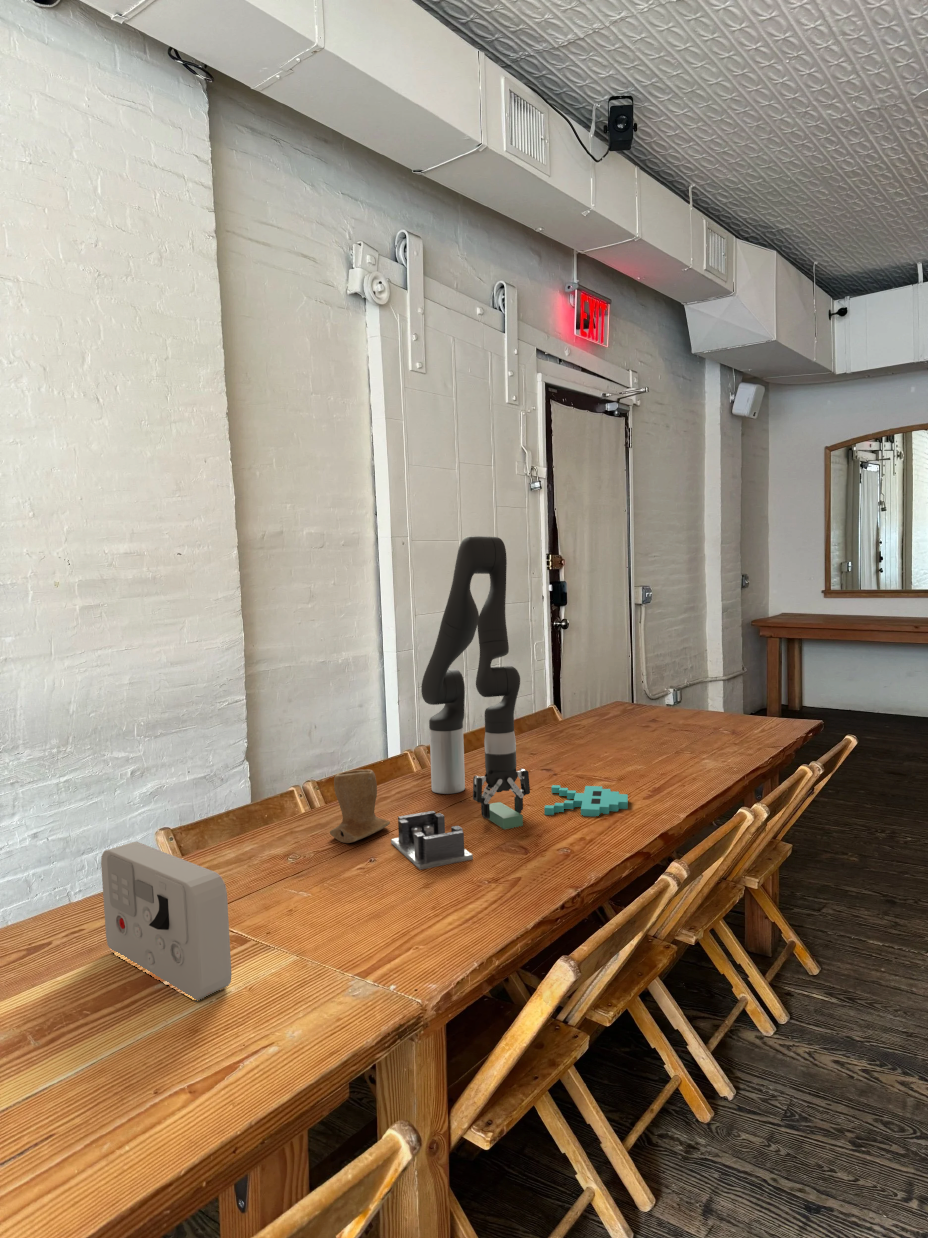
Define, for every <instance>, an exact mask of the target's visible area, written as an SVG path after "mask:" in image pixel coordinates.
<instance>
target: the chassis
mask: <svg viewBox="0 0 928 1238" xmlns="http://www.w3.org/2000/svg"><path fill="white" fill-rule="evenodd" d="M445 819H446V818H445V815H444V814H443V813H441V812H439V813H436V811H434V810H431V811H429V810H428V811H424V812H419V813H418V812H417V813H412V814H411V813H410V814H406V815H399V816H397V825H398V826H397V827H398V837H393V838H391V839H390V841H391V842H390V843H391V845H392V846H394V847H395V849H397V850H398V851H399V852H400V853H401V854H402V855H404V857H405V858H407V859H408V860H409V861H410V862H411V863H412V864H413V865H414V866H416V868H417V869H419V870H426V869H431V868H435V867H443V866H445V865H446V866H447V865H451V864H457V863H461V862H467V861H472V860H473V858H474V857H473V856H474V855H473V853H471V852H469V851H468V850H467V849H466V848H465V833H464V831H463V828H462V827H461V826H459V825H453V826H451V829H450V830H451V832H446V822H445V821H446V820H445Z"/></svg>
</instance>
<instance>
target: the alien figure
mask: <svg viewBox="0 0 928 1238" xmlns="http://www.w3.org/2000/svg"><path fill="white" fill-rule="evenodd" d="M552 793H559V794H558V797H559V796H567V797H566V800H565V799H564V802H555V803H554V804H553V805H552V804H551V805H546V804H545V805H544V810H543V811H544V815H545V816H555V813H559V812H563V813H564V812H565V810H564V809H573V810H574V809H575V807H581V808H580V816H581V815H583V816H582V817H596V816H599V815H600V816H601V815H610V812H619V810H628V806H629V805H628V804H629V802H628V801H629V798H628V797H629V795H628V794H625V793H620V791H614V790H613V791H611V788H603V786H602V785H601V786H600V785H585V787H584V791H583V792H577V790H569V787H561V784H560V785H558V784H557V785H556V784H555V785H554V784H553V785H551V794H552ZM570 799H574V800H570ZM601 813H603V814H601ZM600 816H599V817H600Z"/></svg>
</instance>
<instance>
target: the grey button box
mask: <svg viewBox="0 0 928 1238" xmlns="http://www.w3.org/2000/svg"><path fill="white" fill-rule="evenodd" d="M100 867H101V868H100V870H101V882H102V885H101V886H102V897H103V911H104V924H105V925H104V928H105V938H106V943H107V947H108V949H109V948H111V949H112V950H114V951H116V952H118V953H120V954H121V955H124V956H125V957H127V958H128V959H130V960H131V961H133V962H135V963H137V964H138V965H140V966H142V967H143V968H145V969H147V970H148V971H150V972H152V973H153V974H155V975H156V976H158V977H160V978H161V979H163V980H165V981H167V982H169V983H170V984H172V985H173V986H175V987H177V988H178V989H180V990H182V991H183V992H185V993H186V994H188V995H190V996H192V997H193V998H194V999H196V1000H199V1001H201V1000H203V999H205V998H204V997H206V996H208V995H210V994H212V993H214V992H216V991H218V990H220V989H222V988H224V987H226V986H227V987H229V985H230V984H231V983H232V975H233V974H232V957H231V955H232V954H231V941H230V922H229V906H228V905H229V904H228V892H227V887H226V883H225V881H224V879H223V877H222V875H220V874H219V873H218V872H216V871H215V870H212V869H208V868H205V867H204V866H201V865H199V864H196V863H194V862H191V861H188V860H186V859H183V858H181V857H178V856H175V855H172V854H170V853H167V852H165V851H162V850H159V849H157V848H154V847H152V846H149V845H146V844H143V843H141V842H140V841H133V842H129V843H126V844H122V845H119V846H115V847H112V848H110V849H106V850H104V851H103V853H102V854H101V859H100ZM227 987H226V988H227ZM224 989H225V988H224ZM222 990H223V989H222ZM220 991H221V990H220ZM218 992H219V991H218ZM216 993H217V992H216ZM214 994H215V993H214ZM212 995H213V994H212ZM210 996H211V995H210ZM208 997H209V996H208ZM202 998H203V999H202ZM206 998H207V997H206ZM200 999H201V1000H200Z"/></svg>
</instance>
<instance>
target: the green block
mask: <svg viewBox="0 0 928 1238" xmlns="http://www.w3.org/2000/svg"><path fill="white" fill-rule="evenodd" d="M489 806H490V819H487V820H488V821H490V822H492V823H493V824H495V825H496V826H498V827H499V826H500V828H501V829H502V830H509V829H513V828H514V827H515V828H520V827H523V826H524V817H523V816H524V814H521V813H518V812H516V811H515V809H513V808H511V807H509V806H508V805H505V804H504V803H502V802H501V801H497V802H493V803H492V802H491V803H489ZM519 826H520V827H519Z"/></svg>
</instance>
